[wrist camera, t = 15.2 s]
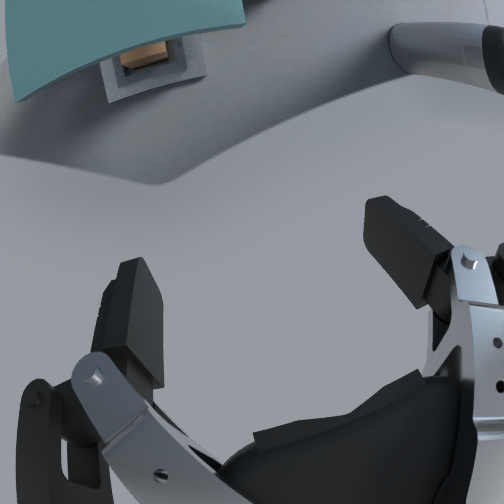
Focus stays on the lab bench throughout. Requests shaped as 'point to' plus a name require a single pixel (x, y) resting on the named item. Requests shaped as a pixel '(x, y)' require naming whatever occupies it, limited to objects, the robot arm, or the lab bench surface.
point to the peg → (145, 56)
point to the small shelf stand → (110, 40)
